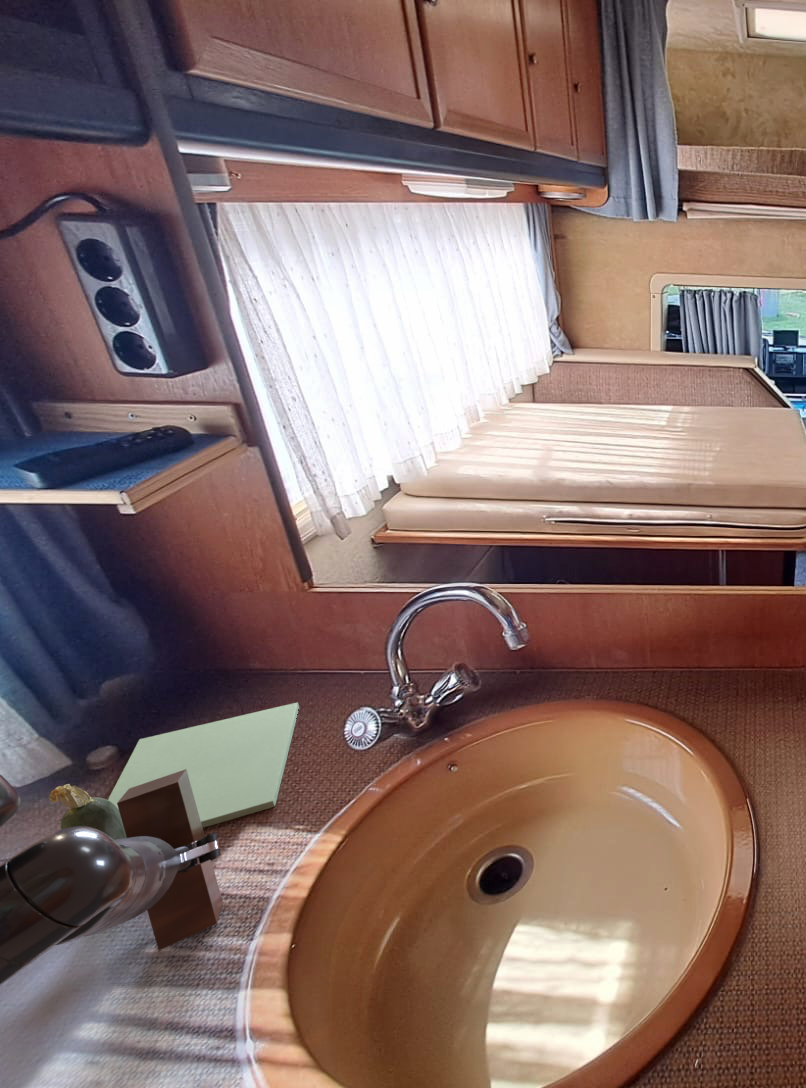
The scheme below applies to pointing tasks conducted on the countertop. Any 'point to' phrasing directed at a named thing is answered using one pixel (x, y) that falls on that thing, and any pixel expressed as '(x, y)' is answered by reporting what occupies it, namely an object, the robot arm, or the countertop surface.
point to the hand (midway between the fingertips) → (164, 868)
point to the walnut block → (176, 821)
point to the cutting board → (219, 762)
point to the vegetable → (88, 811)
